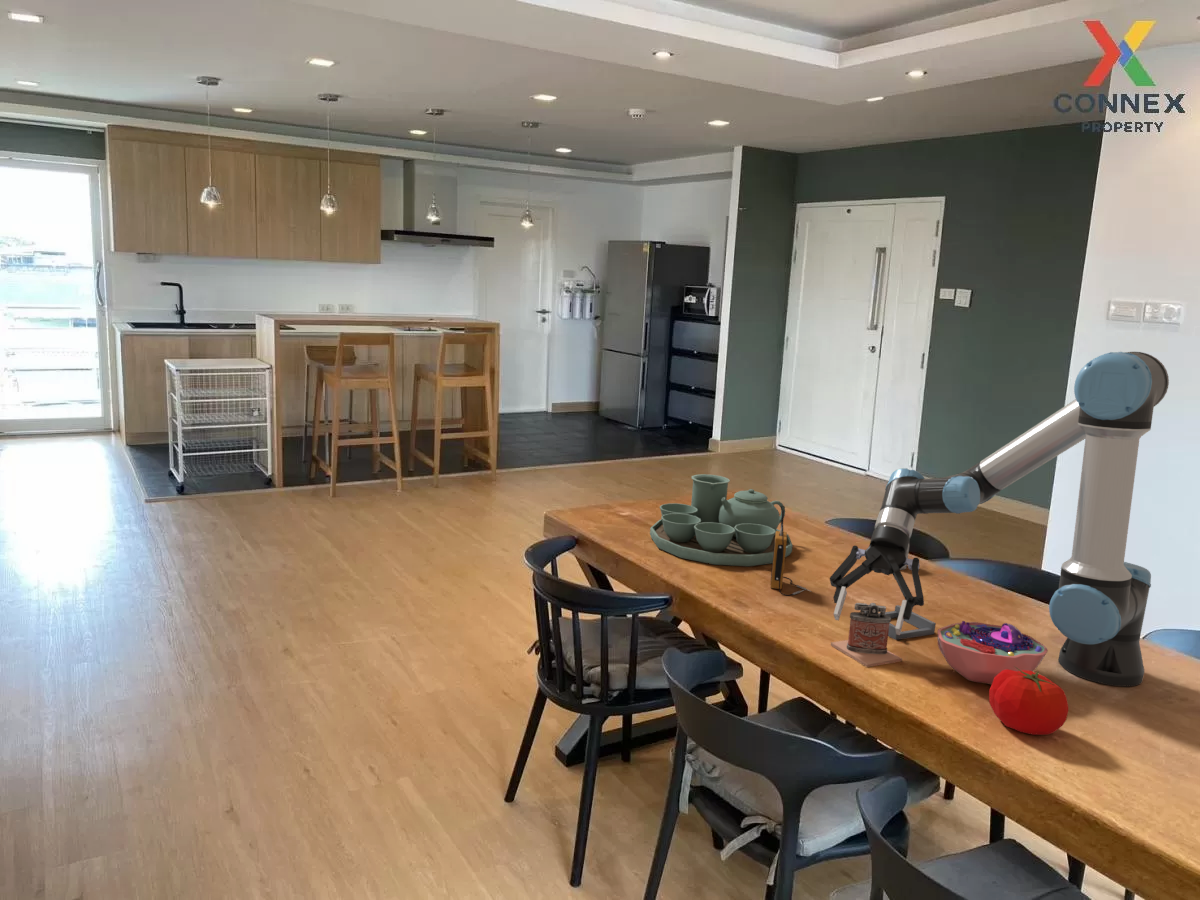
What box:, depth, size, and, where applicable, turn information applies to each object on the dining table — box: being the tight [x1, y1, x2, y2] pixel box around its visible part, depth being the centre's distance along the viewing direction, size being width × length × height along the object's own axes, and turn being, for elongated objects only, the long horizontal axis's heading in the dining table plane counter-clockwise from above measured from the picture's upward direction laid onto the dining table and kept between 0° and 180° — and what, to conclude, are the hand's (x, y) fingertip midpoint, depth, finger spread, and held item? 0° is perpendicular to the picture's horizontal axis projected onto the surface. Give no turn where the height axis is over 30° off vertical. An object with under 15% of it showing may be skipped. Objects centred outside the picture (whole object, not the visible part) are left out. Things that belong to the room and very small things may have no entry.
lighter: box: [847, 602, 892, 654], centre depth 180 cm, size 8×3×10 cm, turn 83°
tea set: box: [649, 473, 794, 567], centre depth 249 cm, size 40×40×16 cm
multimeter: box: [770, 505, 812, 597], centre depth 217 cm, size 15×10×20 cm
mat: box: [830, 639, 903, 668], centre depth 181 cm, size 11×9×1 cm
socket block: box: [864, 604, 937, 641], centre depth 196 cm, size 11×11×2 cm
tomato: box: [988, 666, 1069, 736], centre depth 152 cm, size 11×13×10 cm
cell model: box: [937, 620, 1048, 685], centre depth 171 cm, size 17×20×11 cm
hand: (866, 624), depth 177 cm, fingers open, 11 cm apart
